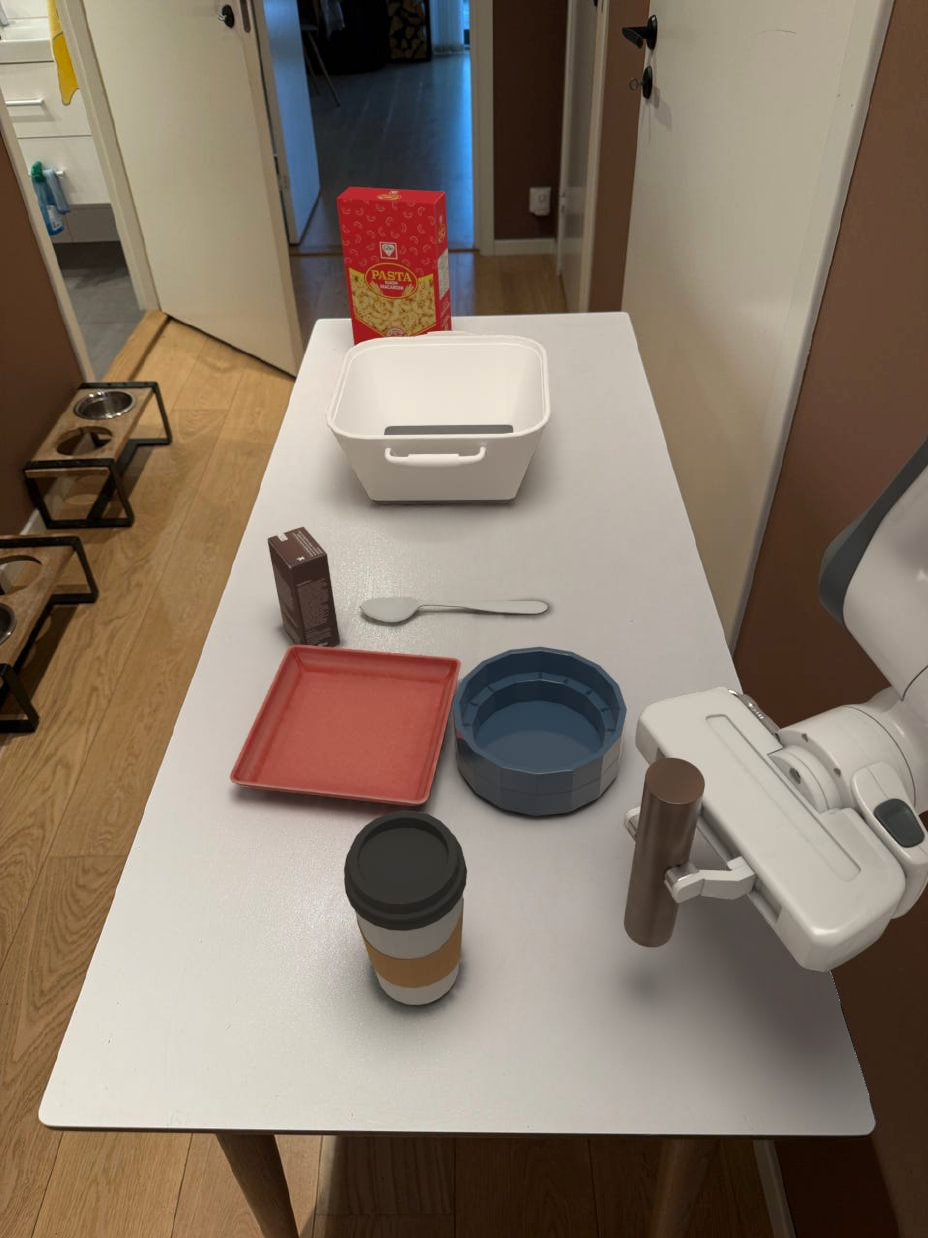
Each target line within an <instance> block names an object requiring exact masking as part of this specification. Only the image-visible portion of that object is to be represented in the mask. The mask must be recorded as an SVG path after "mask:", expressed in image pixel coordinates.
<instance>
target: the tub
mask: <svg viewBox="0 0 928 1238" xmlns="http://www.w3.org/2000/svg"><path fill="white" fill-rule="evenodd" d="M549 377H550V376H549V361H548V352H547V350H546V348H545V346H544V345H542V344H541V343H539V342H538V341H536V340H534V339H532V338H528V337H526V336H525V337H524V336H521V335H509V334H490V335H489V334H487V335H482V334H478V333H472V332H470V331H465V330H452V331H435V332H428V334H425V335H419V336H415V337H386V338H376V339H372V340H368V341H365V342H361V343H359V344H357V345H355V346H352V347H351V348H349V349H348V350H347V352H345V355H343V359H342V361H341V365H340V368H339V371H338V375H337V377H336V382H335V384H334V387H333V391H332V394H331V397H330V401H329V405H328V408H327V411H326V414H325V419H326V426H327V427H328V428H329V429H330V431H331V433H332V434H333V436H334V437H335V439H336V441H337V443H338V445H339V446H340V448H341V450H342V452H343V453H344V455H345V457H346V458H347V461H348V462H349V464H350V465H351V467H352V468H353V471H354V472H355V474H356V476H357V478H358V479H359V481H360V483H361V485H362V486H363V488H364V490H365V492H366V493H367V495H368V497H369V499H370V500H371V501H372V502H373V503H375V504H378V505H454V504H456V505H457V504H458V505H459V504H469V505H470V504H472V505H473V504H508V503H511V502H512V501H514V499H515V497H516V496H517V494H518V492H519V489H520V487H521V484H522V481H523V479H524V477H525V476H526V473H527V469H528V467H529V466H530V462H531V460H532V457H533V456H534V454H535V451H536V448H537V446H538V443H539V441H540V439H541V436H542V435H543V432H544V430H545V428H546V425H548V423H549V420H550V417H551V414H552V408H551V407H552V406H551V391H550V378H549Z"/></svg>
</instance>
